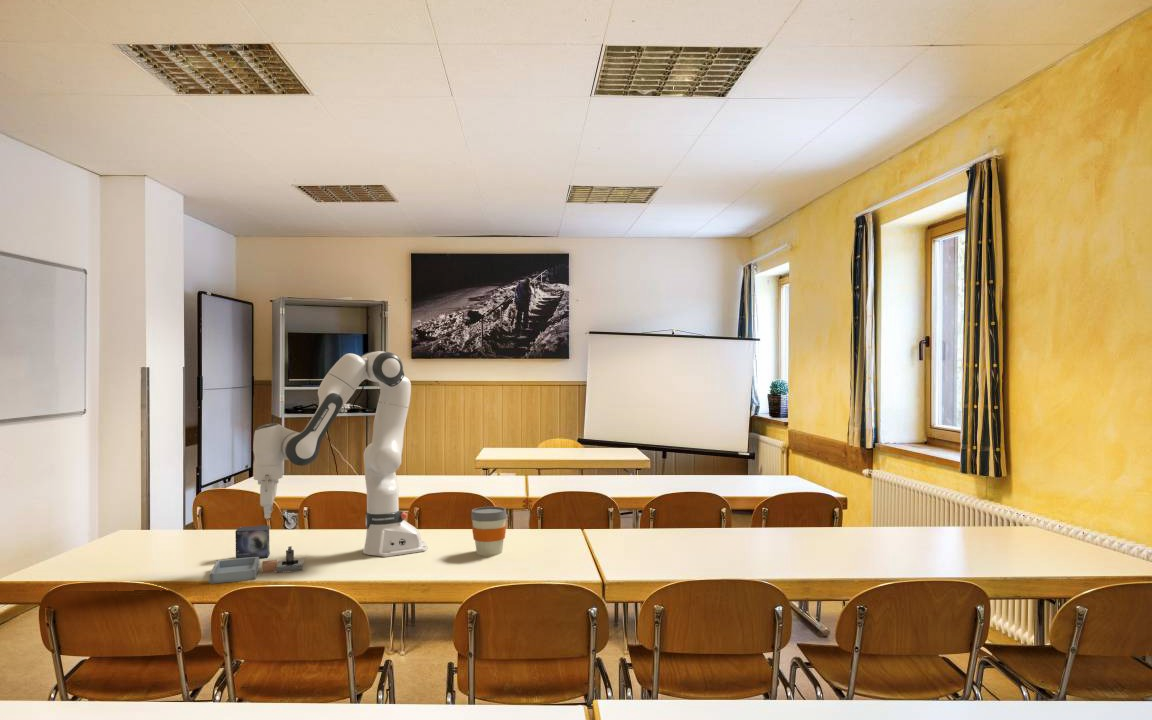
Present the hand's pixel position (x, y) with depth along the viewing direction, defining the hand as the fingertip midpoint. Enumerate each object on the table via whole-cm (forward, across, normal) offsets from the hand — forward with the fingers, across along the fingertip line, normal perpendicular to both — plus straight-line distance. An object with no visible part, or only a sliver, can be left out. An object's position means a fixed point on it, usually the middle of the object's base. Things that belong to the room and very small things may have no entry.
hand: (268, 515), depth 246 cm
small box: (+18, +21, +6) cm, 29 cm away
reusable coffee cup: (+18, -5, -72) cm, 75 cm away
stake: (+18, 0, -6) cm, 19 cm away
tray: (+18, 0, +10) cm, 21 cm away
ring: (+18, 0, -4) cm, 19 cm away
